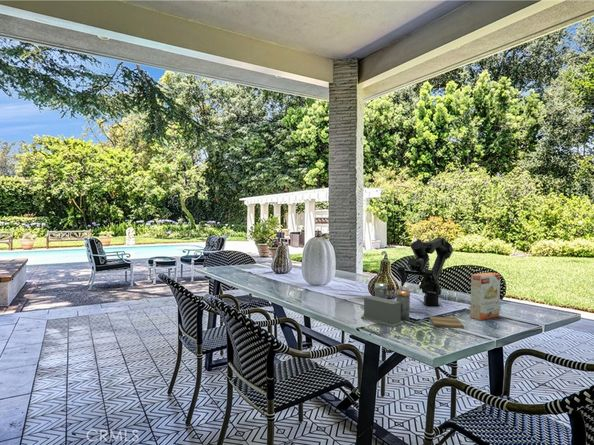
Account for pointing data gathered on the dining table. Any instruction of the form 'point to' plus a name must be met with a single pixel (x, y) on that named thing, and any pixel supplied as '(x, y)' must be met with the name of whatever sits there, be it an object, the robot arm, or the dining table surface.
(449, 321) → the walnut plate
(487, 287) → the cracker box
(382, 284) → the steel cartridge
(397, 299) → the copper capped grey cylinder
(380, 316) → the block
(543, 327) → the dining table surface
